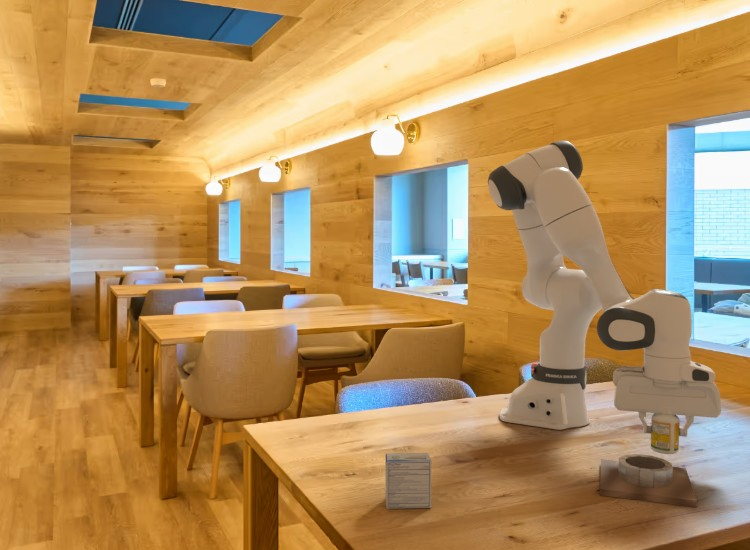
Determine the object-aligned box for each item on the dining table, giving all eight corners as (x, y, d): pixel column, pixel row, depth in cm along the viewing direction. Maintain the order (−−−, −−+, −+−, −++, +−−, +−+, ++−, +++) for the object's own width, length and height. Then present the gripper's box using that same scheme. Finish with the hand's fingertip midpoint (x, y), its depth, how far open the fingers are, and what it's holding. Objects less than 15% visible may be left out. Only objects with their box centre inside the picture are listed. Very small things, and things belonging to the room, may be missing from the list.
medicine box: (428, 499, 119) (429, 451, 119) (431, 509, 115) (432, 460, 114) (385, 499, 119) (385, 452, 118) (386, 509, 114) (386, 460, 114)
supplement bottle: (659, 455, 134) (660, 408, 134) (645, 446, 140) (646, 402, 139) (684, 454, 135) (685, 407, 134) (669, 445, 140) (670, 401, 140)
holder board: (600, 495, 121) (600, 472, 121) (600, 464, 137) (601, 444, 137) (696, 507, 116) (697, 483, 115) (685, 474, 132) (686, 453, 131)
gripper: (613, 368, 136) (612, 434, 137) (724, 374, 130) (721, 443, 131) (612, 362, 142) (611, 425, 143) (718, 368, 136) (716, 434, 137)
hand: (665, 434), depth 137 cm, fingers closed on supplement bottle, 5 cm apart
